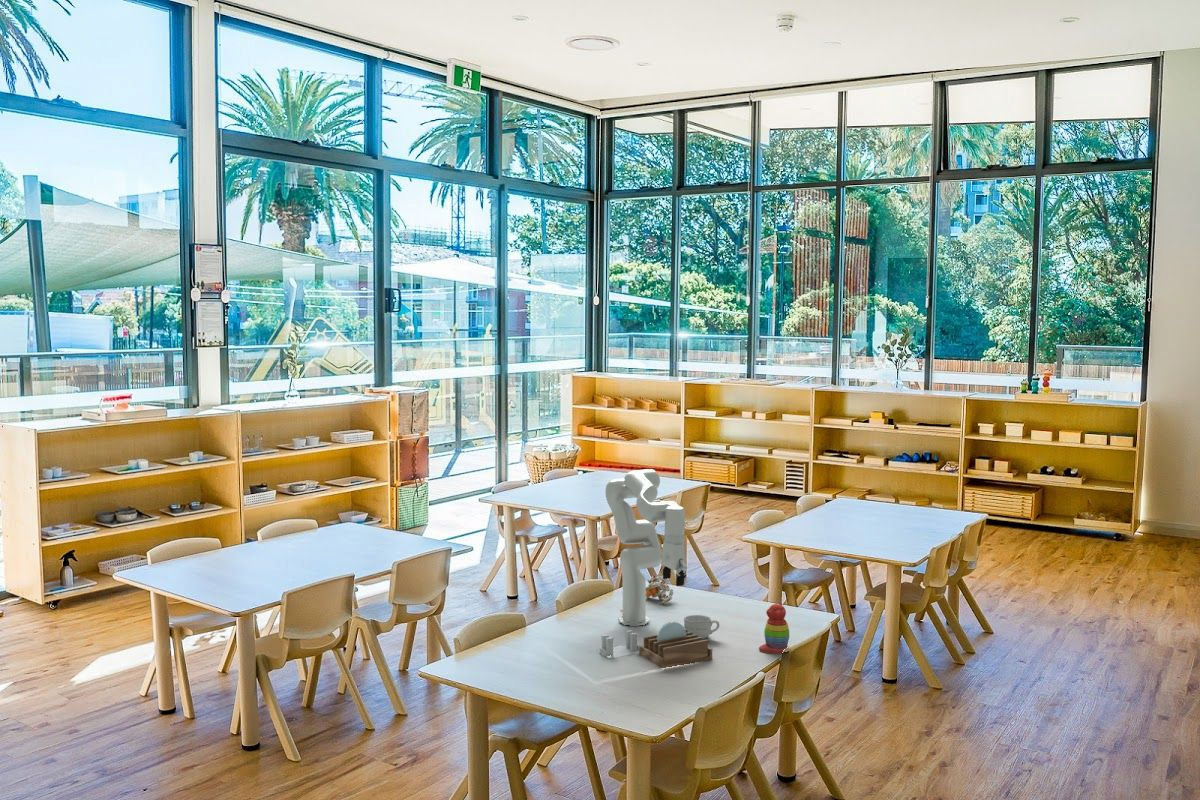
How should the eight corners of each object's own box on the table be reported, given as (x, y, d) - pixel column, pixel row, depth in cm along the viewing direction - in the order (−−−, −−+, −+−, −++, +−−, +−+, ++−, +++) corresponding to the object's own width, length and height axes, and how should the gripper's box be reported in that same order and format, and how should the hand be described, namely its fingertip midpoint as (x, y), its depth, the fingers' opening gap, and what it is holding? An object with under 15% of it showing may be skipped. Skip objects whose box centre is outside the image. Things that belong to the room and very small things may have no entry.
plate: (652, 648, 376) (664, 617, 378) (677, 656, 382) (688, 626, 383) (654, 649, 375) (666, 618, 376) (679, 658, 381) (690, 627, 382)
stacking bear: (771, 643, 394) (771, 598, 392) (794, 649, 388) (795, 603, 386) (756, 650, 386) (757, 605, 384) (780, 656, 379) (781, 610, 378)
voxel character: (655, 600, 458) (680, 590, 449) (646, 611, 450) (671, 601, 441) (641, 579, 457) (666, 569, 448) (632, 590, 449) (657, 580, 440)
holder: (595, 653, 384) (595, 633, 383) (630, 646, 391) (630, 627, 390) (608, 661, 375) (608, 641, 374) (643, 654, 382) (643, 635, 381)
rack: (639, 656, 380) (639, 637, 379) (688, 646, 391) (688, 627, 390) (661, 670, 366) (661, 650, 365) (712, 659, 377) (712, 640, 376)
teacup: (679, 639, 399) (679, 619, 398) (690, 631, 409) (690, 612, 408) (712, 645, 393) (713, 624, 392) (722, 636, 402) (723, 617, 401)
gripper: (654, 533, 393) (653, 576, 395) (677, 545, 378) (676, 589, 380) (671, 531, 397) (670, 574, 399) (695, 542, 381) (693, 587, 384)
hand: (673, 581), depth 390 cm, fingers open, 9 cm apart
